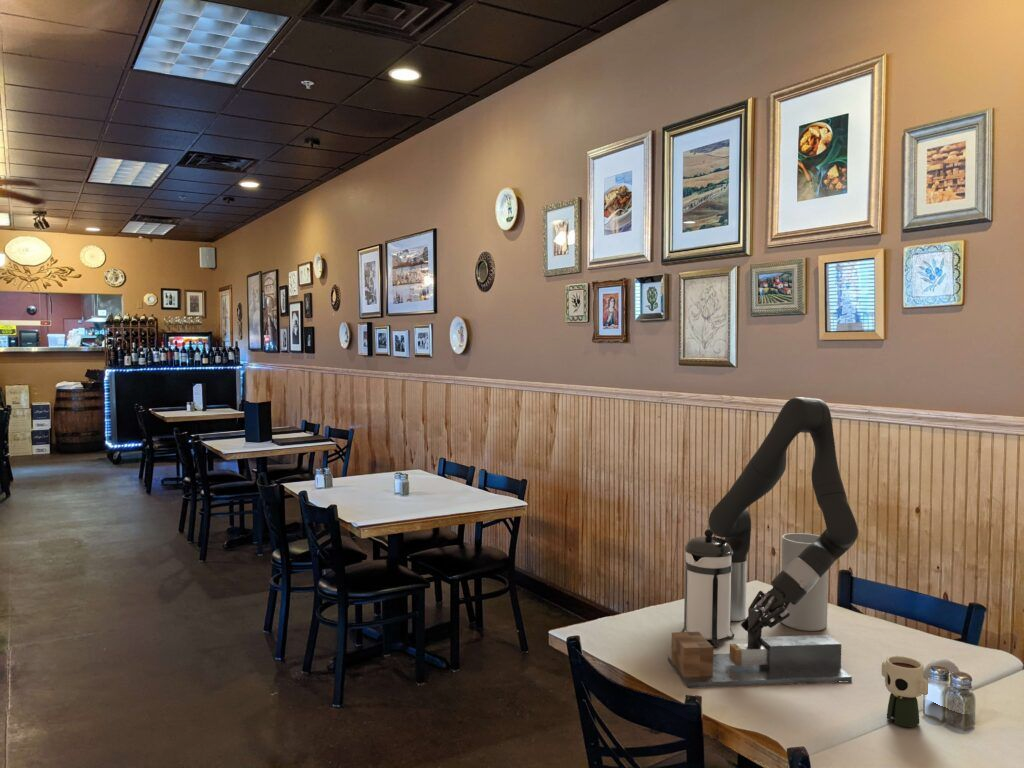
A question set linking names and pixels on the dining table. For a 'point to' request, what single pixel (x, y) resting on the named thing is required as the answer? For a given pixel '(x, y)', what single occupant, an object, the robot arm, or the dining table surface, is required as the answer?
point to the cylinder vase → (815, 603)
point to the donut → (942, 663)
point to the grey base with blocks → (779, 664)
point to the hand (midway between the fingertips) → (746, 630)
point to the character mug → (904, 688)
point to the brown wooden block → (692, 654)
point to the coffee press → (708, 587)
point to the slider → (750, 645)
